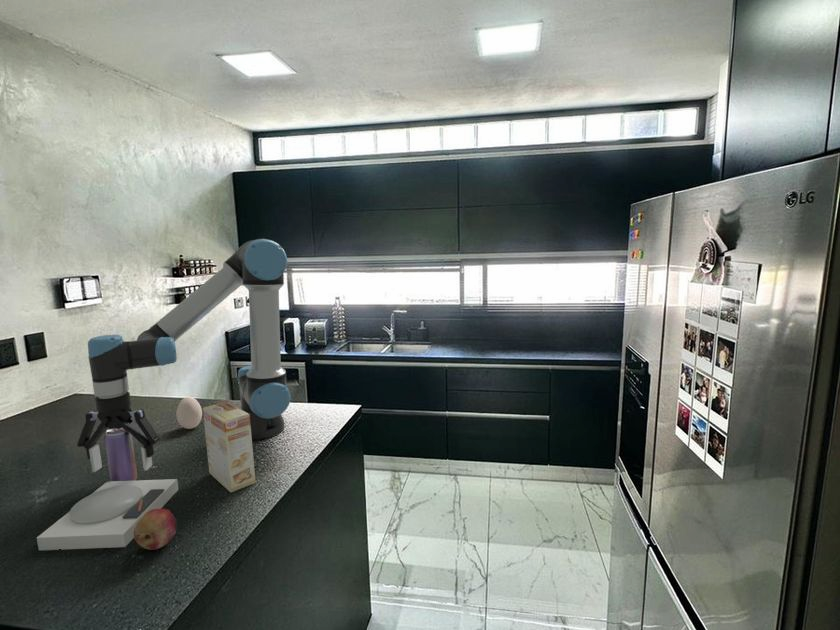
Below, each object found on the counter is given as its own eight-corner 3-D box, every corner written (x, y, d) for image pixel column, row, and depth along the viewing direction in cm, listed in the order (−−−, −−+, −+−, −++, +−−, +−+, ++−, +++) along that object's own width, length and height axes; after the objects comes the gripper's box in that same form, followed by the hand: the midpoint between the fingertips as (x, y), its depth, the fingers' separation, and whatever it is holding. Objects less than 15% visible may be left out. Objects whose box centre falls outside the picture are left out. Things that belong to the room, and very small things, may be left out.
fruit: (129, 550, 92) (124, 515, 91) (166, 529, 98) (162, 497, 97) (149, 563, 88) (144, 527, 87) (186, 541, 94) (182, 507, 93)
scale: (178, 489, 115) (176, 475, 114) (125, 547, 93) (122, 529, 92) (108, 492, 114) (106, 478, 114) (38, 550, 92) (35, 533, 92)
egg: (208, 425, 155) (205, 395, 154) (187, 434, 148) (184, 402, 147) (194, 422, 159) (190, 392, 157) (173, 430, 152) (169, 399, 150)
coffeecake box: (256, 482, 117) (250, 413, 114) (230, 493, 112) (222, 422, 109) (233, 464, 128) (227, 400, 124) (208, 473, 123) (201, 407, 119)
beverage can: (124, 488, 116) (117, 435, 113) (105, 486, 117) (98, 434, 114) (143, 477, 121) (136, 426, 119) (124, 475, 123) (117, 424, 120)
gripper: (168, 387, 119) (176, 460, 123) (74, 390, 118) (86, 463, 122) (152, 397, 112) (161, 474, 115) (52, 400, 111) (65, 477, 114)
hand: (122, 468), depth 118 cm, fingers open, 13 cm apart
